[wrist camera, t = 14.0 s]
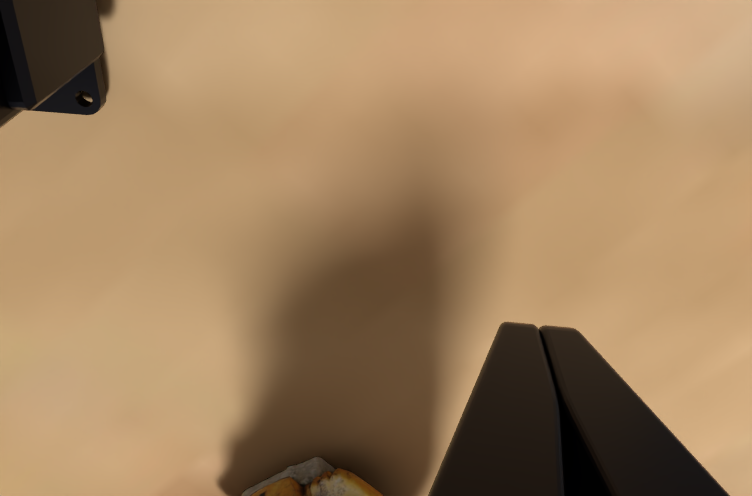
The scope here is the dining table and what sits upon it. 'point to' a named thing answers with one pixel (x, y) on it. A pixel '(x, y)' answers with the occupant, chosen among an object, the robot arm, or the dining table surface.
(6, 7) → the robot arm
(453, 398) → the dining table surface
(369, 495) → the decorative figurine
